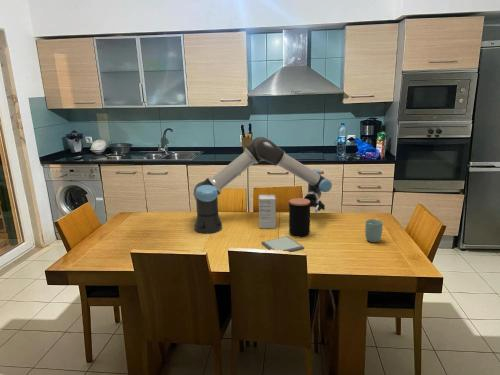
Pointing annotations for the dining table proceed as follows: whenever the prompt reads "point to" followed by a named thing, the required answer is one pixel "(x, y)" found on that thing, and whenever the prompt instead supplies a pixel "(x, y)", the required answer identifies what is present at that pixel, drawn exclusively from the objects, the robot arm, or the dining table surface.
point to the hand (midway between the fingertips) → (303, 210)
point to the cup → (373, 230)
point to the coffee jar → (299, 217)
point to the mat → (282, 244)
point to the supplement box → (267, 211)
